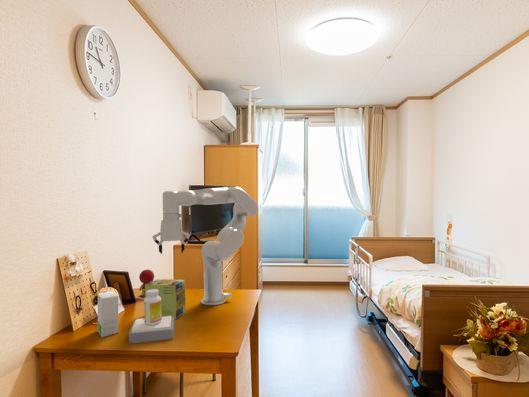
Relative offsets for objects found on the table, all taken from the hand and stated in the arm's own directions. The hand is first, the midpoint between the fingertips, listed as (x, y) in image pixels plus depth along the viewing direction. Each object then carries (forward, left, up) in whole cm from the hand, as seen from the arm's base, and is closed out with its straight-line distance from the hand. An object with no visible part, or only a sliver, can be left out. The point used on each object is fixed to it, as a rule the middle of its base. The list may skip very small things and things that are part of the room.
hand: (171, 252), depth 158 cm
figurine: (+15, -29, -28) cm, 43 cm away
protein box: (+3, +3, -29) cm, 29 cm away
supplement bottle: (+7, +24, -24) cm, 35 cm away
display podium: (+7, +24, -28) cm, 38 cm away
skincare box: (+25, +17, -28) cm, 42 cm away
